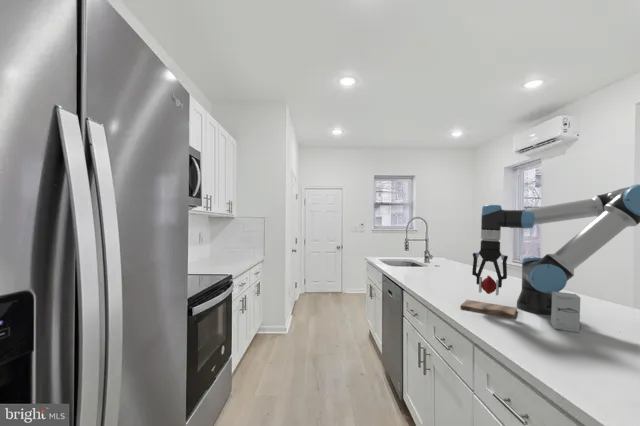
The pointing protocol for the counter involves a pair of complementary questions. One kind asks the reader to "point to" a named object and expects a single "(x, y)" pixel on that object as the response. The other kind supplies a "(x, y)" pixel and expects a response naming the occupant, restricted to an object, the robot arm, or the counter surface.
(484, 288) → the onion
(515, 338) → the counter surface
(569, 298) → the supplement box
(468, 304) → the walnut board
